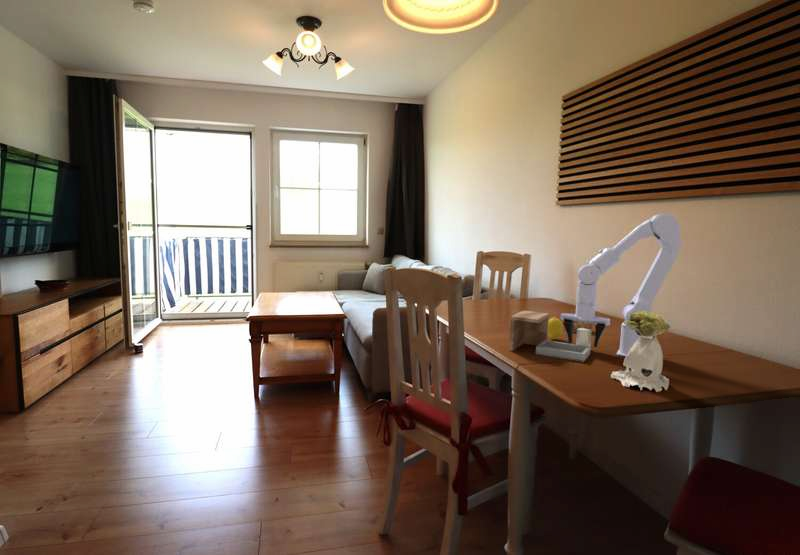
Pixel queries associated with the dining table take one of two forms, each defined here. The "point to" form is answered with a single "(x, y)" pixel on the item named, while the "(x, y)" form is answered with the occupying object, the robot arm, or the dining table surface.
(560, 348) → the tray
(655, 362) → the potted plant vase
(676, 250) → the robot arm
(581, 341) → the beige rounded lump
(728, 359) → the dining table surface
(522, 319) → the counter shelf
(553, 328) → the lemon
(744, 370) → the dining table surface
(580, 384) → the dining table surface
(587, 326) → the bread roll
